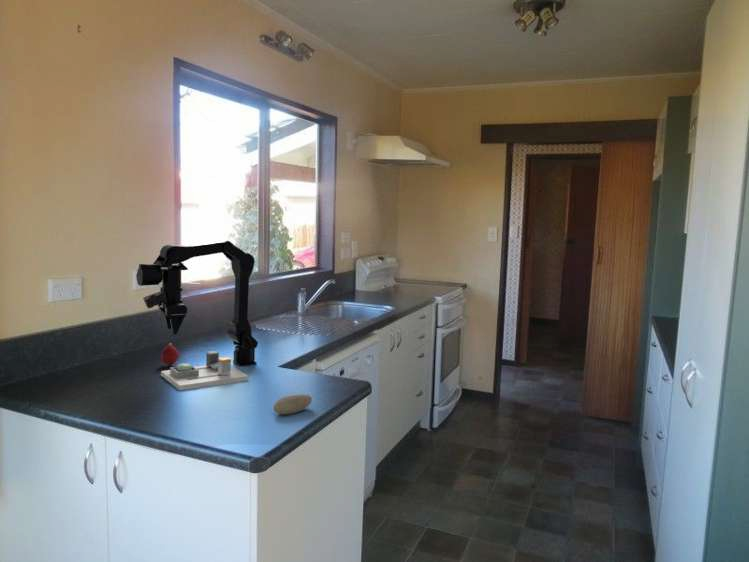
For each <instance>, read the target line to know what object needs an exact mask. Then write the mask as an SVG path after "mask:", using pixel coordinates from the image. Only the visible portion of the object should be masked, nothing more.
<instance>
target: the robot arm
mask: <svg viewBox="0 0 749 562" xmlns="http://www.w3.org/2000/svg"><path fill="white" fill-rule="evenodd" d="M161 247H162V248H161V249H160V251H159V255H158V257H156V259H155V261H154V262H152V263H151V264H150V263H149V264H148V263H147V264H146V263H139V264H138V269H137V270H136V271H137V272H136V277H135V278H136V283H137V285H138V286H139V287H142V286H143V287H144V286H159V285H160V283H162V284H161V285H162V286H161V287H160V289H159V290H160V291H157V292H155V293H152V294H149V295H147V296H144V297H143V301H144V303H145V306H146V308H147V309H148V310H150V309H153V308H154V307H156V306H157V307H158V309H159V311H161V312H162V313H163V314H164V319H165V323H166V327H167V329H168V330H172V335H173V336H175V335H178V333H179V330H180V327H181V325H182V323H183V322H184V319H185V318H186V316H187V314H188V307H187V306H186V305H185V304H184V303H183V299H182V292H183V288H182V271H188V267H187V266H186V265H185V264H184V262H186V261H188V260H190V259H193V258H197V257H202V256H209V255H216V254H221V253H222V254H223V255H224V257H226V259H228V260H229V261H230V263H231V269H232V273H233V275H234V277H235V278H234V282H235V283H234V302H233V303H234V305H233V306H234V307H233V308H234V310H233V319H232V321H231V322H229V321H228V322H227V331H226V334H227V335H228V337H229V339H230V340H231V341H232V343H233V345H235V346H234V350H233V359H232V363H234V364H236V365H237V366H248V365H250V366H251V365H256V364H257V361H256V360H255V359H256V357H255V354H256V353H255V352H256V348H257V347H258V345H259V342H258V341H257V340H256V338H254V337H253V334H252V327H251V324H250V321H249V318H248V317H249V316H248V313H249V292H250V291H249V289H250V288H249V287H250V278H251V275H252V273H253V271H254V266H255V257H254V256H253V255H252V254H250V253H247V252H245V251H244V250H242V249H241V248H239V247H238V246H236V245H235V244H234V243H232V242H231V241H230V240H225V239H221V240H218V241H212V242H205V243H198V244H192V245H180V244H166V245H163V246H161Z"/></svg>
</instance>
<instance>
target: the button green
mask: <svg viewBox="0 0 749 562" xmlns="http://www.w3.org/2000/svg"><path fill="white" fill-rule="evenodd" d="M192 366H193V365H192V364H191V363H179V364H177V365H176V367H177V371H179V372H182V371H189V370H192Z"/></svg>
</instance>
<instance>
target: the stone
mask: <svg viewBox="0 0 749 562" xmlns="http://www.w3.org/2000/svg"><path fill="white" fill-rule="evenodd" d="M312 401H313V399H312V396H311V395H309V394H305V393H301V394H292V395H287V396H283V397H281V398H278V399H277V400H276V402H274V404H273V411H274V412H275V413H276V414H278V415H292V414H295V413H298V412H301V411H303V410H305V409H306V408H308V407H309V406H310V405H311V403H312Z"/></svg>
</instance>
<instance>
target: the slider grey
mask: <svg viewBox="0 0 749 562" xmlns="http://www.w3.org/2000/svg"><path fill="white" fill-rule="evenodd" d="M205 354H206V355H205V356H206V358H205V359H206V363H205V364H206V365H205V366H207V367H209V368H212V367H211V366H210V364H213V363H216V362H218V358H220V357H219V355H220V352H219V351H217V350H209V351H206V352H205Z"/></svg>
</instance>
